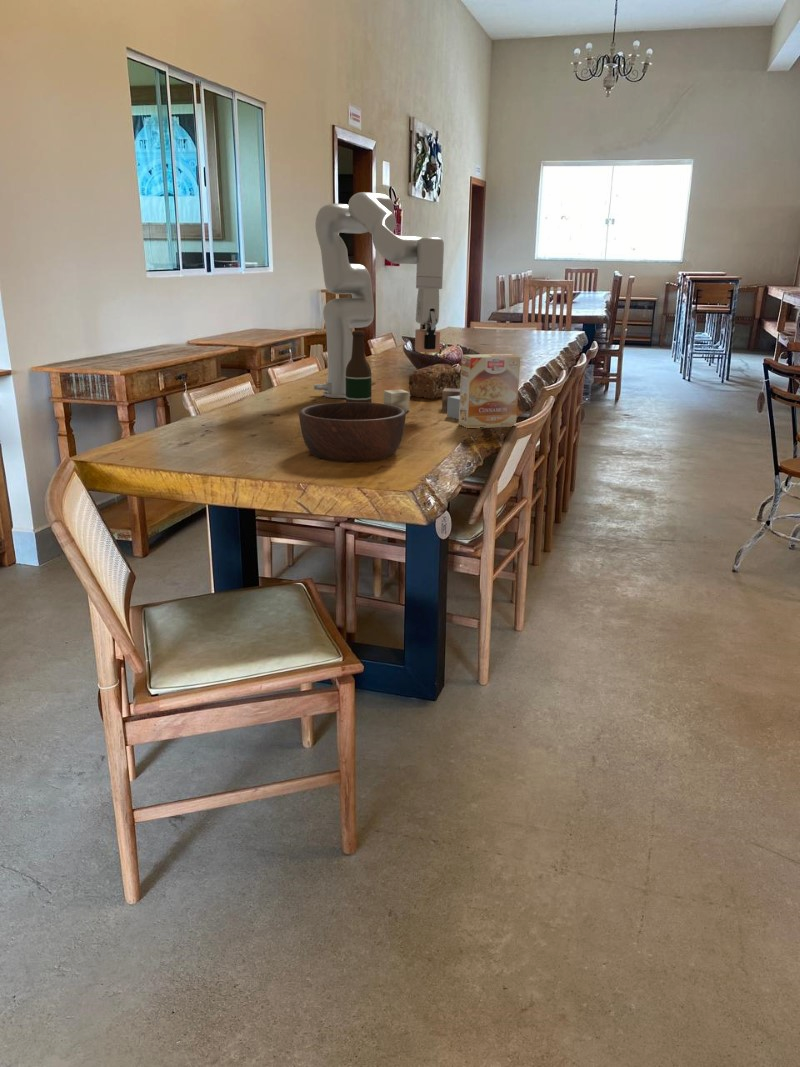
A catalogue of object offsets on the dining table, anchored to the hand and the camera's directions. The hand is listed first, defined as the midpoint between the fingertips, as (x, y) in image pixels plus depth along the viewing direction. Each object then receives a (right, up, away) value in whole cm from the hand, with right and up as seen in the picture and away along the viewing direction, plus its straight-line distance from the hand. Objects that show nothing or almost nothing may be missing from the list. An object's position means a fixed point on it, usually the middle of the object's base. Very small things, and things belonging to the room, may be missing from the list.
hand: (427, 347), depth 232 cm
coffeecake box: (+17, -25, -10) cm, 31 cm away
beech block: (-9, -17, +10) cm, 22 cm away
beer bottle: (-20, -19, +6) cm, 28 cm away
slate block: (+10, -21, +1) cm, 23 cm away
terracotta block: (0, -1, 0) cm, 1 cm away
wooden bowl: (-19, -36, -44) cm, 60 cm away
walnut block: (+8, -16, +14) cm, 23 cm away
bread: (+4, -7, +41) cm, 42 cm away
